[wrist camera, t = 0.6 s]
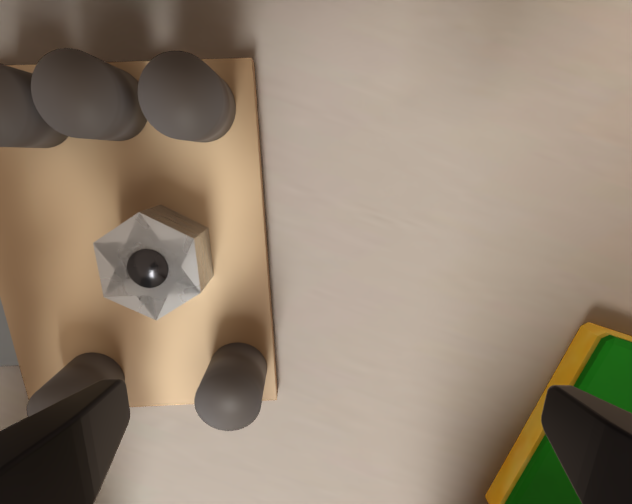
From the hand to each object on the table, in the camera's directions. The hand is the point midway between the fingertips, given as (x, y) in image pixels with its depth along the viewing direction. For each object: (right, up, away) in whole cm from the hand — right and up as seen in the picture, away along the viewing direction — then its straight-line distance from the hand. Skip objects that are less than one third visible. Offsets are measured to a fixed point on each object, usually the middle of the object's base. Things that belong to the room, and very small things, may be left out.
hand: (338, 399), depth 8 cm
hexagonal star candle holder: (-8, +3, +11) cm, 14 cm away
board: (-10, +3, +12) cm, 16 cm away
